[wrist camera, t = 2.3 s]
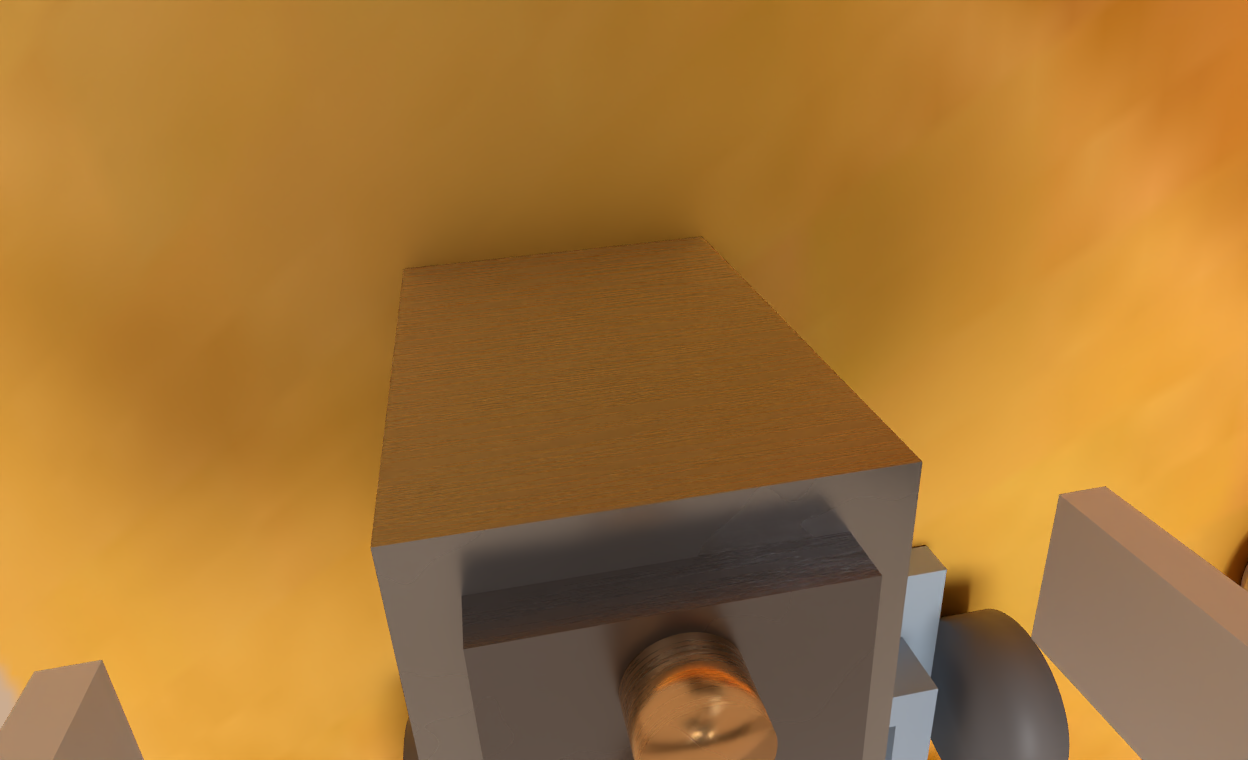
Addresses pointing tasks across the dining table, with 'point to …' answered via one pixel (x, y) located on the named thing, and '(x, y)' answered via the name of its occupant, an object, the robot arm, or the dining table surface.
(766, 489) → the twin lamp box
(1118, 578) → the robot arm
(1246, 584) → the beverage can
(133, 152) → the dining table surface
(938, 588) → the chassis
